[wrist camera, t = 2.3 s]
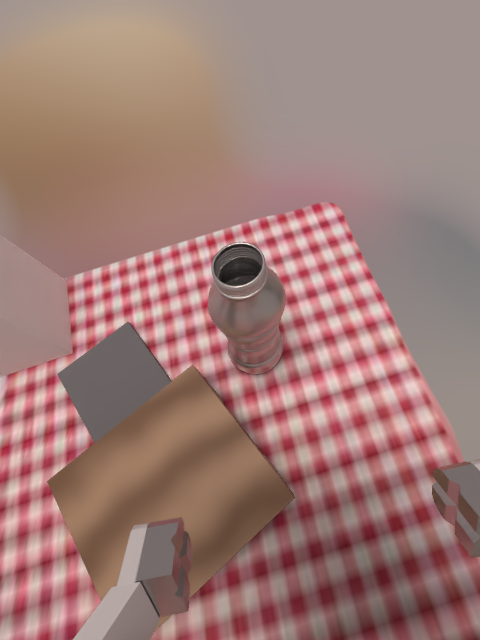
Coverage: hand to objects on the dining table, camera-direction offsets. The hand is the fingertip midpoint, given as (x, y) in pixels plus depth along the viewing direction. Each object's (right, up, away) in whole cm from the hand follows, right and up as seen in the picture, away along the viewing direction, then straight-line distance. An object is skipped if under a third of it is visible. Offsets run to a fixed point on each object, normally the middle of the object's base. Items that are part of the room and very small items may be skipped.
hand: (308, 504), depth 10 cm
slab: (-9, -12, +24) cm, 28 cm away
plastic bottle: (0, +2, +29) cm, 29 cm away
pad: (-18, -2, +30) cm, 35 cm away
